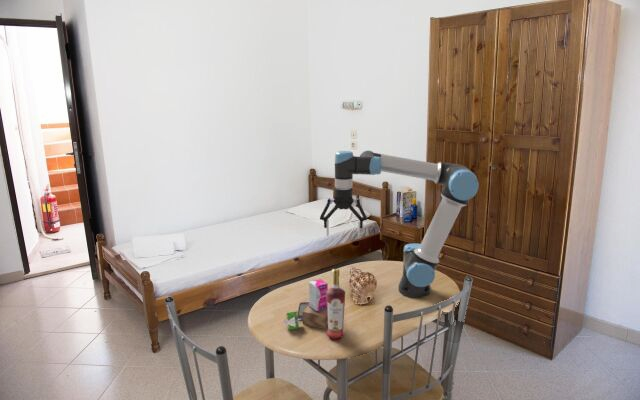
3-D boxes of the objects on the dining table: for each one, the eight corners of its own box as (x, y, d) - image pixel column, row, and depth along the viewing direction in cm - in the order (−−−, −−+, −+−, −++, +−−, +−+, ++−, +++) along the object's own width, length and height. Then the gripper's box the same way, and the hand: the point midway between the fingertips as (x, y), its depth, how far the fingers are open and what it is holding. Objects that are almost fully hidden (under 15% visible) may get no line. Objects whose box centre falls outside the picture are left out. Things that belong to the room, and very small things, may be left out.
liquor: (326, 341, 178) (326, 274, 171) (326, 331, 185) (325, 266, 178) (345, 341, 178) (346, 274, 171) (344, 331, 185) (344, 266, 178)
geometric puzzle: (280, 318, 191) (283, 309, 185) (296, 315, 193) (300, 306, 187) (285, 334, 187) (288, 326, 181) (301, 331, 189) (304, 322, 183)
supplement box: (316, 312, 188) (316, 286, 185) (308, 307, 193) (308, 281, 190) (328, 308, 191) (327, 283, 188) (320, 303, 196) (320, 278, 193)
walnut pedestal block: (334, 318, 196) (334, 305, 194) (325, 329, 187) (325, 316, 185) (312, 313, 200) (312, 301, 198) (302, 324, 191) (302, 311, 189)
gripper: (372, 185, 199) (371, 232, 205) (314, 185, 201) (315, 231, 206) (373, 190, 192) (372, 238, 197) (313, 189, 193) (314, 237, 199)
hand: (343, 235), depth 202 cm, fingers open, 13 cm apart
